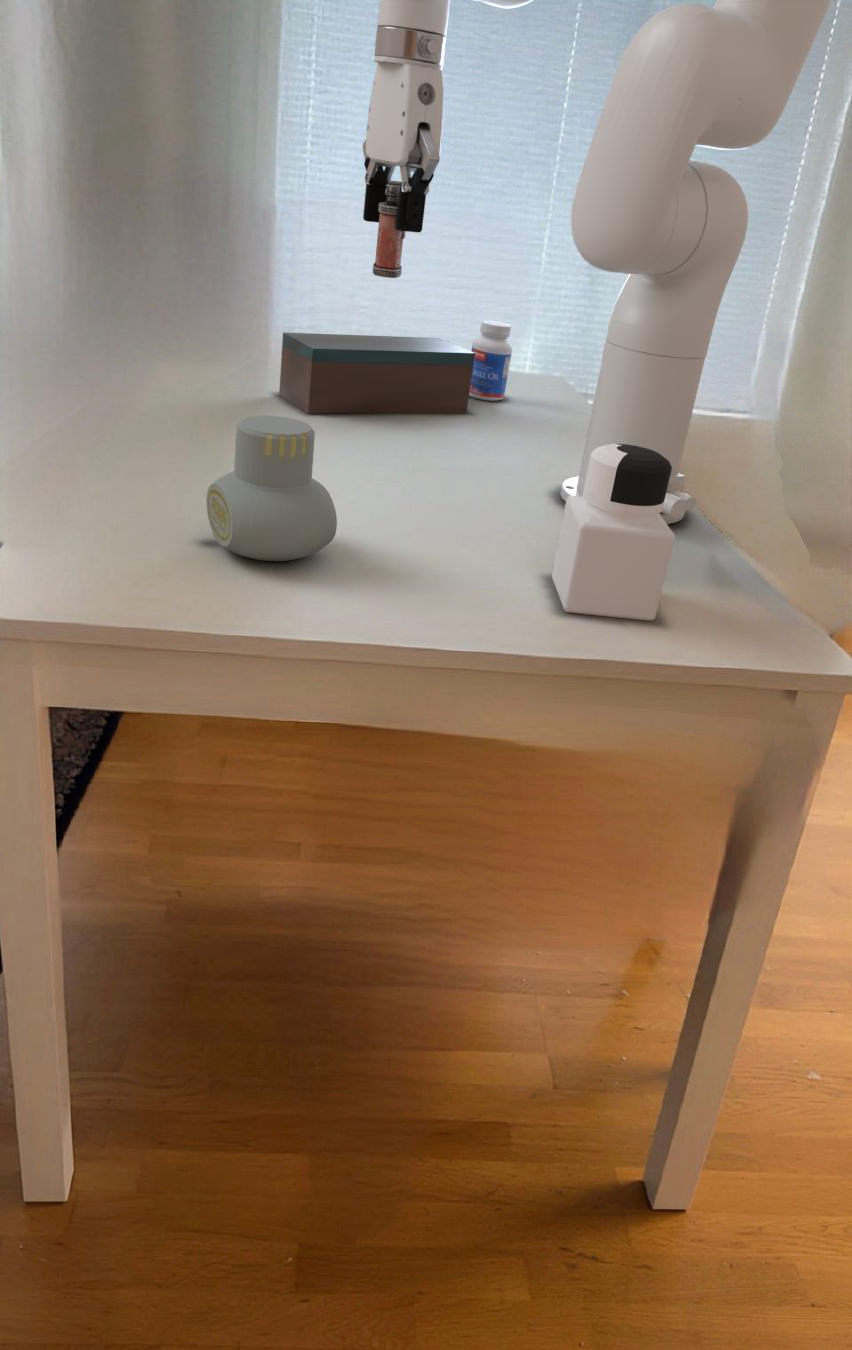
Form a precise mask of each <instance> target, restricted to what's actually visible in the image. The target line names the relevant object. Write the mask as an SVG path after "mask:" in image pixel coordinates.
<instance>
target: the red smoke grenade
mask: <svg viewBox="0 0 852 1350" xmlns="http://www.w3.org/2000/svg"><path fill="white" fill-rule="evenodd" d="M399 191H400V192H403V186H402V181H399V180H398V181H397V180H392V179H391V180H389V182H388V188H386V191H385V193H386V195H387V200H386V202H382V203H379V208H378V211H379V212H380V216H379V222H378V227H377V236H376V237H377V238H376V248H375V249H376V250H375V259H374V262H373V265H372V274H373V275H374V276H375V277H381V278H387V279H398V278H400V277H401V276H402V271H403V270H402V269H403V267H402V265H401V264H402V252H403V244H404V239H405V238H406V232H407V231H399V230H396V228H395V225H396V215H397V206H398V196H399Z"/></svg>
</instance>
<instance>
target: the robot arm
mask: <svg viewBox="0 0 852 1350" xmlns="http://www.w3.org/2000/svg"><path fill="white" fill-rule="evenodd" d="M378 1H379V2H378V14H377V23H376V24H377V25H376V26H377V27H376V33H375V34H376V35H375V46H374V47H375V48H374V57H373V62H374V63H376V67H375V72H374V77H373V82H372V88H371V93H370V99H369V108H368V115H367V122H366V123H367V124H366V134H365V139H364V142H363V143H362V152H363V157H364V164H363V165H364V169H365V174H364V182H365V194H364V203H363V204H364V205H363V212H362V213H363V214H362V219H363V220H364V221H365V222H370V223H379V216H380V212H379V211H378V208H379V203H382V202H386V200H387V195H386V193H385V191H386V188H388V182H389V180H391V181H392V177H393V174H394V172H395V170H396V169H395V168H396V167H399V171H400V172H399V173H400V178H401V182H402V192H400V191H399V196H398V206H397V215H396V225H395V228H396V230H399V231H406V232H407V233H421V232H422V231H423V225H424V216H425V209H426V199H427V195H428V194H429V192H430V184H431V182H432V180H433V178H434V173H435V171H436V169H437V167H438V165H439V164H440V160H441V148H442V139H443V138H442V136H443V127H444V126H443V123H444V108H445V107H444V105H445V104H444V101H445V87H444V86H445V84H444V83H445V81H444V70H443V68H444V67H443V66H444V58H445V52H446V51H445V50H446V42H447V33H448V26H449V25H448V24H449V17H450V16H449V15H450V7H451V0H378ZM472 1H474V2H477V3H480V4H484V5H488V6H492V7H495V8H499V9H516V8H518V7H523V6H525V5H527V4H529V3H530V2H533V1H534V0H472ZM830 3H831V0H715V2H714V4H713V6H712V7H710V6H707V5H702V4H699V3H698V4H697V3H680V4H675V5H672V6H669V7H667V8H665V9H662V10H660V11H659V12H657V13H656V14H654V15H653V16H652V17H650V18H649V19H648V20H647V21H646V22H644V24H643V25H642V26H641V27H640V28H639V30H638V31H637V32H636V33H635V35H634V36H633V38H632V39H631V40H630V41H629V43H628V44H627V46H626V48H625V50H624V51H623V53H622V56H621V58H620V60H619V62H618V64H617V67H616V69H615V73H614V74H613V78H612V80H611V83H610V86H609V89H608V92H607V95H606V98H605V100H604V104H603V105H602V109H601V112H600V114H599V118H598V121H597V123H596V127H595V129H594V132H593V135H592V138H591V141H590V144H589V147H588V150H587V153H586V156H585V158H584V161H583V163H582V164H583V165H582V167H581V170H580V173H579V176H578V180H577V183H576V185H575V190H574V194H573V198H572V204H571V209H570V228H571V229H570V230H571V235H572V240H573V243H574V246H575V248H576V250H577V252H578V253H579V255H580V257H581V258H582V259H583V260H584V261H585V262H587V263H588V265H590V266H592V267H594V268H595V269H598V270H600V271H603V272H606V273H611V274H612V273H613V274H623V275H628V276H627V278H626V280H625V282H624V284H623V285H622V287H621V289H620V292H619V294H618V296H617V298H616V300H615V303H614V305H613V308H612V311H611V315H610V318H609V321H608V325H607V326H608V327H607V331H606V337H605V340H604V345H603V351H602V356H601V360H600V366H599V370H598V376H597V380H596V381H597V382H596V387H595V392H594V396H593V401H592V407H591V413H590V416H589V422H588V428H587V431H586V432H587V433H586V438H585V443H584V448H583V453H582V457H581V458H582V459H581V464H580V469H579V473H578V475H577V476H573V477H569V478H567V479H566V480H564V481H563V482H562V483H561V486H560V491H559V495H560V497H561V499H562V500H563V501H564V503H566V500H567V498H568V497H569V496H580V497H583V491H584V486H585V481H586V476H587V471H588V466H589V461H590V456H591V453H592V452H593V451H594V450H595V449H596V448H598V447H601V446H604V445H608V444H627V445H634V446H639V447H643V448H647V449H650V450H653V451H655V452H657V453H659V454H661V455H662V456H663V457H665V458H666V459H667V460H668V461H669V462H670V464H671V466H672V470H671V475H670V479H669V483H668V487H667V492H666V496H665V500H664V504H663V509H662V511H661V512H660V513H659V514H660V515H661V517H662V518H663V519H664V521H665V522H666V524H667V525H670V524H675V523H678V522H679V521H681V520H682V519H684V517H685V514H686V511H688V512H690V511H692V510H693V509H694V508H695V506H696V505H697V498H696V497H694V496H692V495H691V494H689V493H686V492H682V490H683V485H684V480H685V477H686V476H685V475H683V474H681V473H680V472H679V470H680V466H681V461H682V457H683V452H684V449H685V445H686V440H687V436H688V433H689V429H690V424H691V420H692V415H693V411H694V407H695V403H696V399H697V394H698V391H699V390H698V389H699V386H700V381H701V378H702V373H703V369H704V364H705V360H706V357H707V354H708V350H709V346H710V342H711V340H712V339H711V338H712V335H713V330H714V326H715V323H716V319H717V316H718V311H719V309H720V306H721V303H722V299H723V297H724V294H725V291H726V288H727V286H728V283H729V280H730V279H731V276H732V273H733V271H734V269H735V266H736V264H737V262H738V259H739V256H740V254H741V251H742V249H743V245H744V242H745V239H746V235H747V230H748V223H749V209H748V203H747V199H746V195H745V193H744V191H743V188H742V187H741V185H740V184H739V182H738V181H737V180H736V178H735V177H733V176H732V175H731V173H729V172H728V171H727V170H724V169H723V168H721V167H720V166H717V165H715V164H712V163H709V162H706V161H702V160H701V161H700V160H696V159H691V158H692V155H693V153H694V150H695V148H696V147H701V148H702V147H703V148H707V149H714V150H722V151H723V150H725V151H742V150H745V149H746V150H747V149H749V148H752V147H754V146H756V145H758V144H760V143H761V142H762V141H764V140H765V139H766V138H767V137H768V136H769V135H770V133H771V132H772V131H773V129H774V128H775V126H776V125H777V123H778V122H779V120H780V118H781V116H782V114H783V113H784V111H785V108H786V105H787V103H788V101H789V99H790V97H791V95H792V92H793V90H794V87H795V86H796V83H797V81H798V78H799V77H800V74H801V71H802V69H803V67H804V64H805V62H806V60H807V58H808V55H809V53H810V51H811V48H812V46H813V44H814V41H815V39H816V37H817V35H818V33H819V30H820V28H821V25H822V23H823V21H824V19H825V16H826V13H827V11H828V8H829V6H830ZM411 173H413V174H412V175H411Z"/></svg>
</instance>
